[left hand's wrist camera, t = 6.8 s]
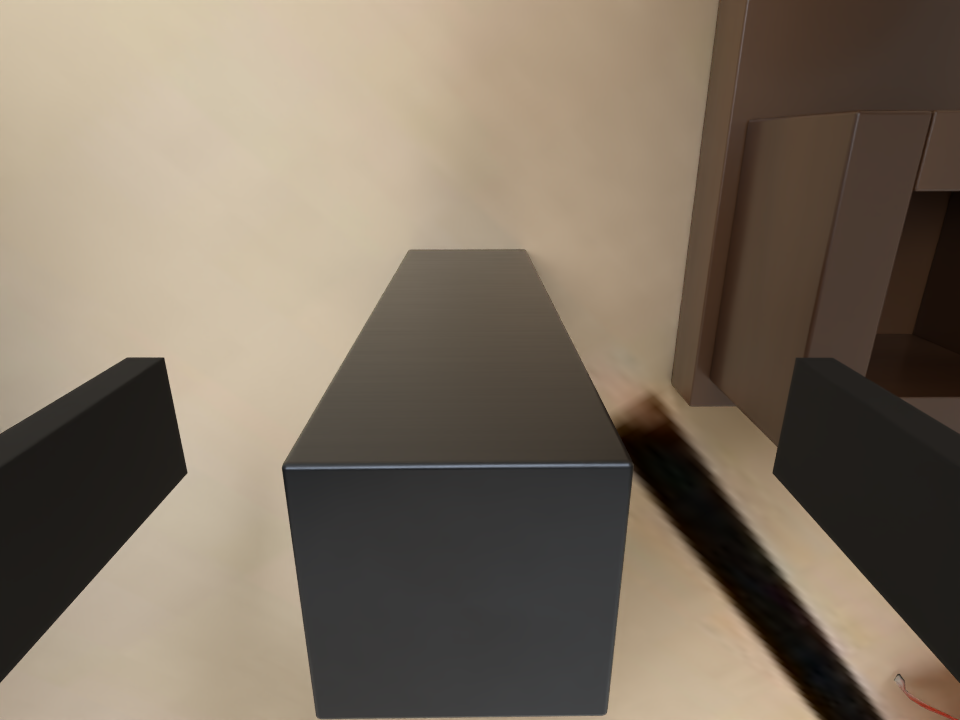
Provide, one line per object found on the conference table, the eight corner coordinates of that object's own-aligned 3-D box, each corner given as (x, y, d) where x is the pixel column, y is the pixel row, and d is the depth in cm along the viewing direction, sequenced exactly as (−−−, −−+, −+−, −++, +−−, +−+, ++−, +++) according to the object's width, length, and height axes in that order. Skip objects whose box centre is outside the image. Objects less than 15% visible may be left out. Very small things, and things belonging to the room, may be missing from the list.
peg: (412, 360, 21) (314, 722, 8) (408, 249, 20) (279, 465, 6) (523, 359, 21) (608, 718, 8) (526, 249, 20) (635, 463, 6)
